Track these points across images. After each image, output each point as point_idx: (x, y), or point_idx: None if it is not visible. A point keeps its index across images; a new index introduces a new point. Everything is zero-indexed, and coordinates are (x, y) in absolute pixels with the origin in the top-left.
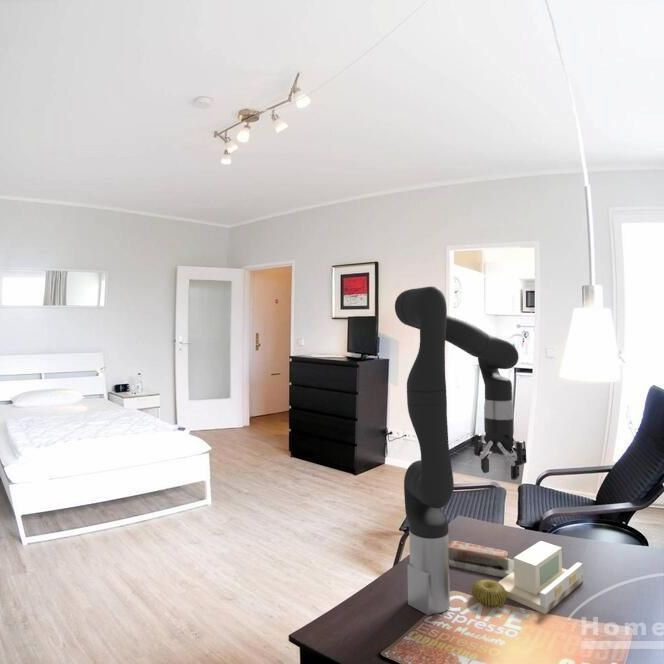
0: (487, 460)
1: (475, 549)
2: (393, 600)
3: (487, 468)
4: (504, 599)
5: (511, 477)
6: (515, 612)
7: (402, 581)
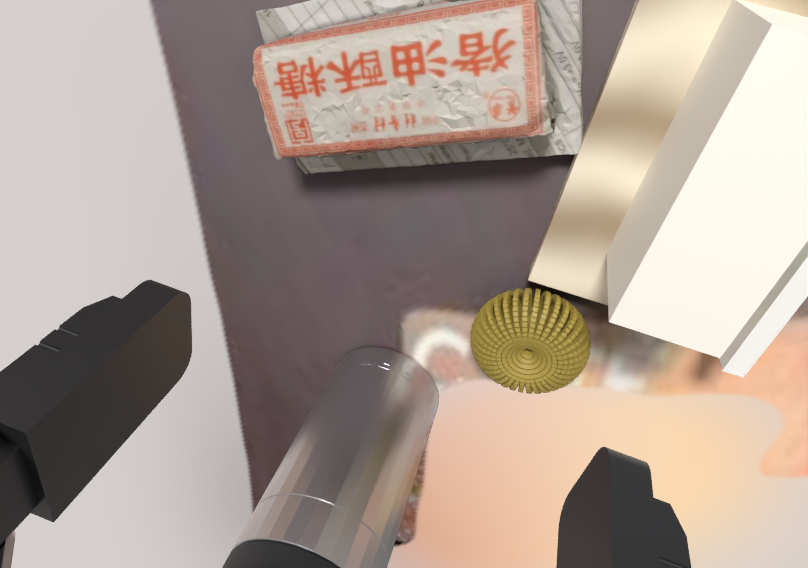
0: (58, 446)
1: (384, 116)
2: (308, 405)
3: (156, 354)
4: (586, 362)
5: (565, 537)
6: (623, 351)
7: (269, 324)
